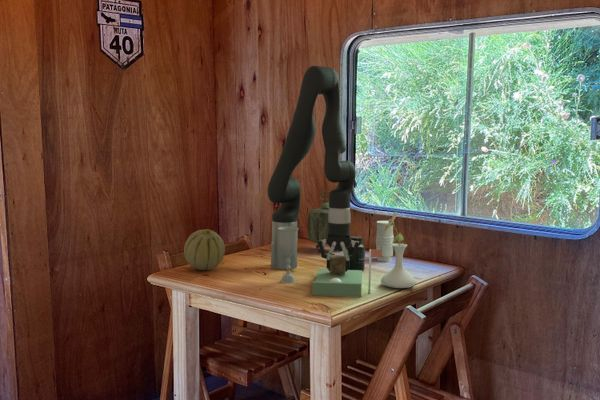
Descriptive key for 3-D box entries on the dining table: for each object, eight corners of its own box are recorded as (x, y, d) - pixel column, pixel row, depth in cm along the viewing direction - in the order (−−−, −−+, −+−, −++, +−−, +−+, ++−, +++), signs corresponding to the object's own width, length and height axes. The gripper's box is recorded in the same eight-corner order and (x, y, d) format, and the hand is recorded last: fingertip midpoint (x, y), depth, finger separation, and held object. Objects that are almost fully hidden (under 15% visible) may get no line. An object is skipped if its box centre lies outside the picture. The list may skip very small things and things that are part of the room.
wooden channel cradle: (329, 273, 201) (329, 258, 201) (331, 269, 207) (331, 255, 207) (344, 274, 201) (345, 259, 200) (345, 270, 207) (346, 255, 206)
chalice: (290, 285, 199) (291, 230, 197) (273, 282, 203) (273, 228, 200) (302, 280, 205) (303, 227, 203) (285, 277, 209) (286, 225, 207)
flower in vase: (392, 280, 207) (394, 207, 204) (422, 285, 199) (424, 210, 196) (371, 287, 197) (373, 211, 194) (402, 294, 189) (404, 214, 186)
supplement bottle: (363, 272, 217) (364, 239, 216) (344, 271, 219) (345, 238, 217) (365, 267, 224) (366, 235, 222) (347, 266, 225) (347, 235, 224)
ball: (327, 276, 191) (331, 281, 195) (326, 289, 189) (331, 294, 193) (340, 275, 190) (344, 280, 193) (340, 288, 188) (344, 293, 191)
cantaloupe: (202, 263, 229) (201, 224, 227) (233, 268, 222) (233, 227, 220) (175, 271, 217) (174, 229, 215) (207, 276, 209) (206, 233, 207)
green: (312, 295, 188) (312, 282, 187) (318, 275, 212) (318, 264, 211) (361, 296, 186) (361, 284, 185) (361, 277, 210) (362, 265, 210)
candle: (394, 261, 234) (395, 223, 232) (376, 261, 234) (377, 223, 233) (392, 257, 241) (393, 220, 239) (374, 257, 241) (375, 220, 239)
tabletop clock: (345, 251, 253) (347, 191, 250) (335, 255, 246) (336, 193, 243) (316, 247, 261) (316, 189, 258) (304, 250, 253) (305, 191, 250)
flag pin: (368, 293, 190) (369, 249, 188) (368, 293, 190) (369, 249, 189) (380, 293, 189) (382, 249, 188) (380, 293, 190) (381, 249, 188)
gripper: (316, 221, 199) (315, 272, 202) (360, 223, 198) (359, 274, 200) (318, 218, 207) (317, 267, 209) (361, 219, 205) (359, 269, 207)
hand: (338, 270), depth 204 cm, fingers closed on wooden channel cradle, 5 cm apart
